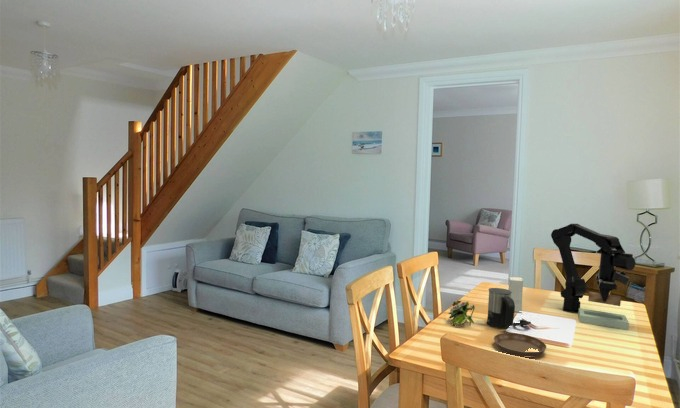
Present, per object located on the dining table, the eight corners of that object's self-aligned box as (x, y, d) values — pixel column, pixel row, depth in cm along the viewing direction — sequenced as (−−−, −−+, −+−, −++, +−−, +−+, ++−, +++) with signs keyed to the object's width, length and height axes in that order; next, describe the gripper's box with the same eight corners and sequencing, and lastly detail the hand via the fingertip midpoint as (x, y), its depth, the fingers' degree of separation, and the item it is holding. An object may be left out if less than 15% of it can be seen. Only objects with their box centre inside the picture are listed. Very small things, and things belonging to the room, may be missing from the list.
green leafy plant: (454, 333, 191) (460, 306, 196) (478, 335, 183) (483, 308, 188) (441, 322, 184) (447, 295, 190) (464, 324, 177) (470, 296, 182)
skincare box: (521, 313, 204) (524, 281, 203) (507, 311, 206) (510, 279, 205) (520, 307, 212) (522, 277, 211) (506, 306, 214) (509, 275, 213)
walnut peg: (588, 301, 198) (589, 293, 197) (588, 299, 201) (589, 291, 200) (620, 306, 192) (621, 298, 191) (619, 304, 195) (620, 296, 194)
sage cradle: (579, 322, 195) (580, 315, 195) (578, 314, 206) (578, 308, 206) (628, 330, 188) (629, 323, 187) (624, 321, 198) (624, 315, 198)
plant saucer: (519, 363, 150) (520, 354, 150) (482, 343, 166) (483, 335, 166) (557, 356, 157) (557, 348, 157) (518, 338, 173) (519, 330, 173)
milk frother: (481, 323, 189) (483, 288, 187) (507, 318, 196) (509, 285, 195) (508, 334, 176) (511, 297, 175) (535, 329, 184) (538, 293, 183)
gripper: (632, 271, 183) (629, 309, 184) (625, 263, 200) (622, 298, 201) (601, 268, 188) (598, 304, 189) (597, 260, 204) (594, 294, 206)
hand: (604, 300), depth 196 cm, fingers closed on walnut peg, 4 cm apart
